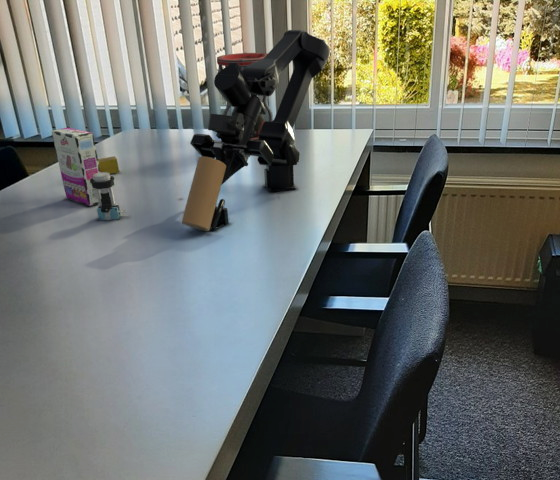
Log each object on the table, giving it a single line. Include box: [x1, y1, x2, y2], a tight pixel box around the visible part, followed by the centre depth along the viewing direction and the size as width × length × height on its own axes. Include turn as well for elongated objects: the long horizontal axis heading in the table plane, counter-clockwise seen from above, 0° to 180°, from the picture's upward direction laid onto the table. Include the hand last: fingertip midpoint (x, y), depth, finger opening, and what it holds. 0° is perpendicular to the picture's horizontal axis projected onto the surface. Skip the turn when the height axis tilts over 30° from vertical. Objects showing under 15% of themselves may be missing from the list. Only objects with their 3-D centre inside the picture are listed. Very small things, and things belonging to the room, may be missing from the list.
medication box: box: [98, 155, 121, 175], centre depth 171 cm, size 12×3×4 cm, turn 116°
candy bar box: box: [51, 127, 101, 207], centre depth 150 cm, size 11×5×16 cm, turn 47°
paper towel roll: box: [181, 155, 226, 232], centre depth 131 cm, size 14×6×14 cm, turn 149°
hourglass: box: [216, 52, 274, 140], centre depth 188 cm, size 16×16×25 cm
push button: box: [90, 172, 128, 221], centre depth 140 cm, size 7×5×10 cm
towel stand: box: [210, 198, 230, 232], centre depth 134 cm, size 5×6×6 cm
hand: (218, 184), depth 134 cm, fingers closed
